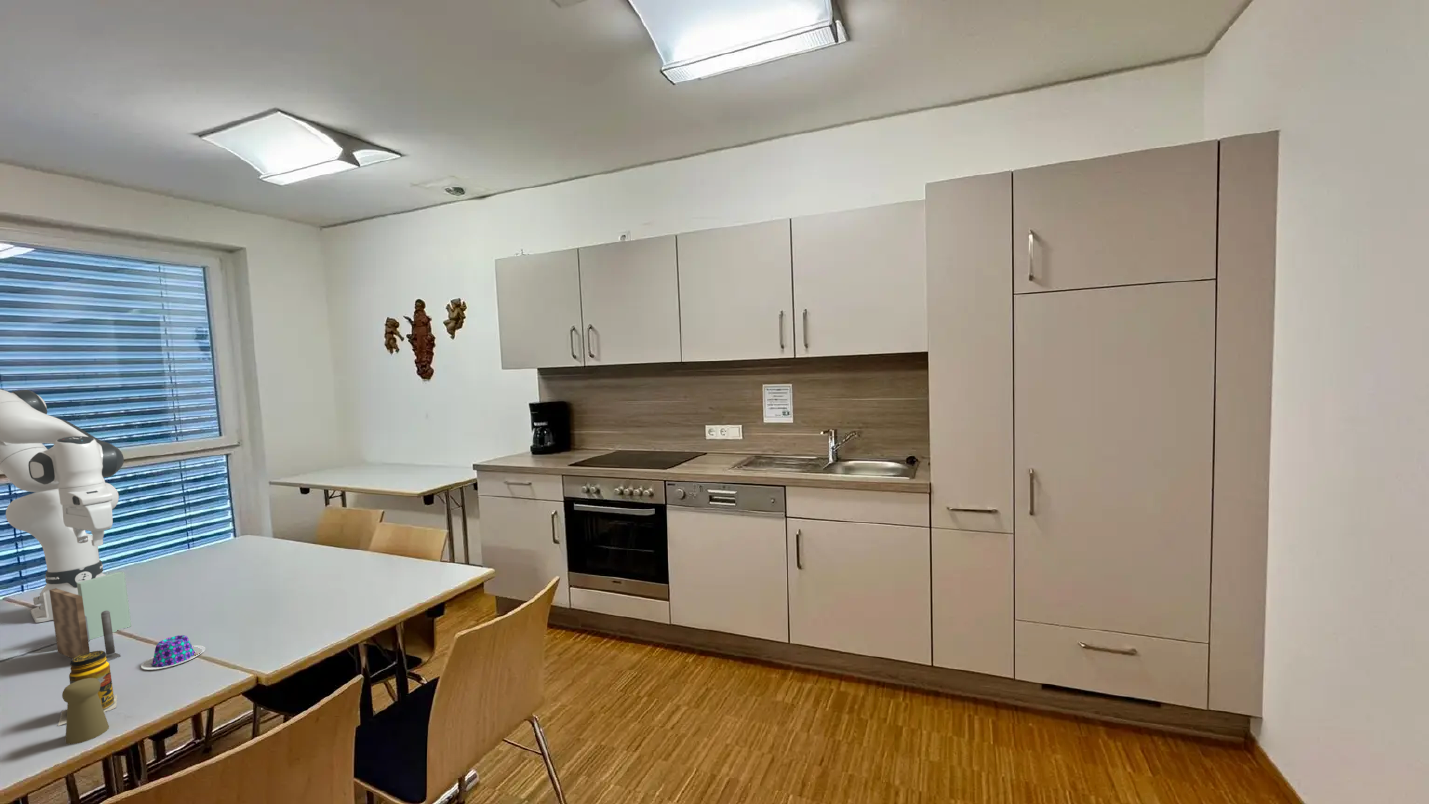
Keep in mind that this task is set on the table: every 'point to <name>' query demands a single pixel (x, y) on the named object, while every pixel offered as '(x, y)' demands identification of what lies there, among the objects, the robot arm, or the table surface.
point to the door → (105, 602)
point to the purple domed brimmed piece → (171, 652)
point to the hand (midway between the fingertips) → (90, 544)
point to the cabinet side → (76, 625)
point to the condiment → (93, 668)
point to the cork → (84, 711)
